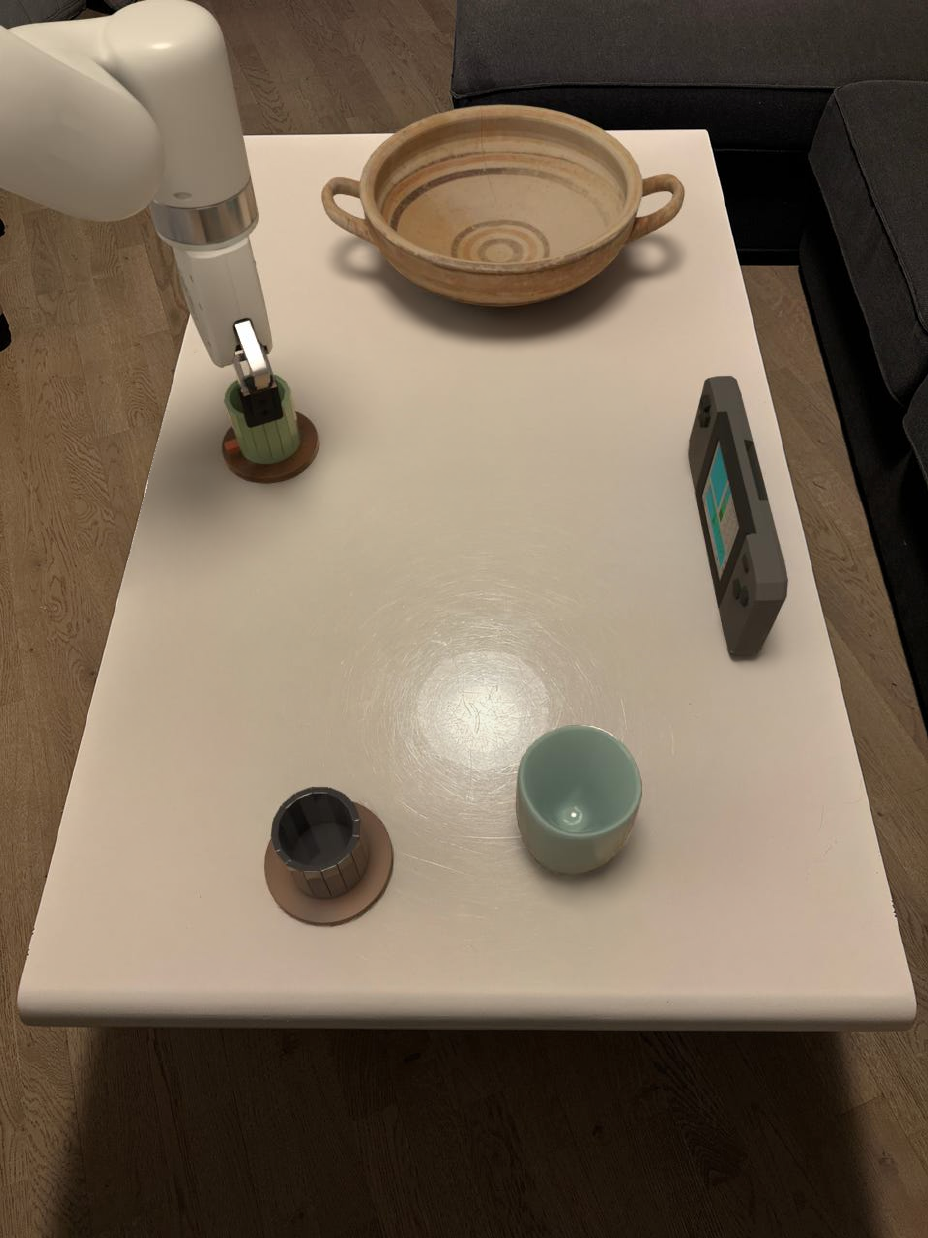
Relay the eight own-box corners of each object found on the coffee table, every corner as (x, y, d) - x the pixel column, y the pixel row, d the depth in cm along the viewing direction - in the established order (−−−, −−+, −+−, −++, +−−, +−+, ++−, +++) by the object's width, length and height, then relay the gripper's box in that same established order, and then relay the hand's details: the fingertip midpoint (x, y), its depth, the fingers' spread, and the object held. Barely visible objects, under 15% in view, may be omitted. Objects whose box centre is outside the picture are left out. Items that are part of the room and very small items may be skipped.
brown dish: (216, 483, 86) (214, 477, 86) (230, 413, 91) (229, 407, 91) (314, 483, 86) (313, 477, 86) (323, 412, 91) (322, 406, 90)
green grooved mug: (309, 452, 87) (299, 405, 82) (237, 476, 86) (222, 431, 81) (289, 411, 90) (277, 364, 85) (219, 434, 89) (203, 388, 84)
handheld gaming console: (681, 450, 88) (702, 367, 79) (711, 449, 88) (735, 366, 79) (724, 662, 75) (754, 591, 67) (759, 661, 75) (793, 589, 67)
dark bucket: (282, 899, 65) (265, 872, 60) (293, 803, 68) (278, 770, 63) (366, 899, 64) (356, 872, 60) (372, 803, 68) (364, 770, 63)
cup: (497, 805, 69) (499, 746, 60) (594, 770, 70) (609, 707, 62) (539, 905, 65) (547, 856, 56) (641, 865, 66) (664, 812, 58)
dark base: (258, 926, 64) (256, 923, 64) (274, 802, 69) (272, 798, 69) (389, 926, 64) (388, 923, 63) (396, 802, 69) (395, 798, 68)
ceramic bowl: (657, 186, 111) (672, 100, 102) (685, 352, 95) (705, 266, 86) (343, 189, 111) (331, 104, 103) (319, 353, 96) (303, 269, 87)
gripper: (123, 153, 71) (179, 336, 85) (183, 284, 62) (235, 464, 77) (219, 131, 73) (259, 314, 87) (291, 256, 64) (322, 437, 78)
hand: (248, 384), depth 82 cm, fingers open, 9 cm apart
